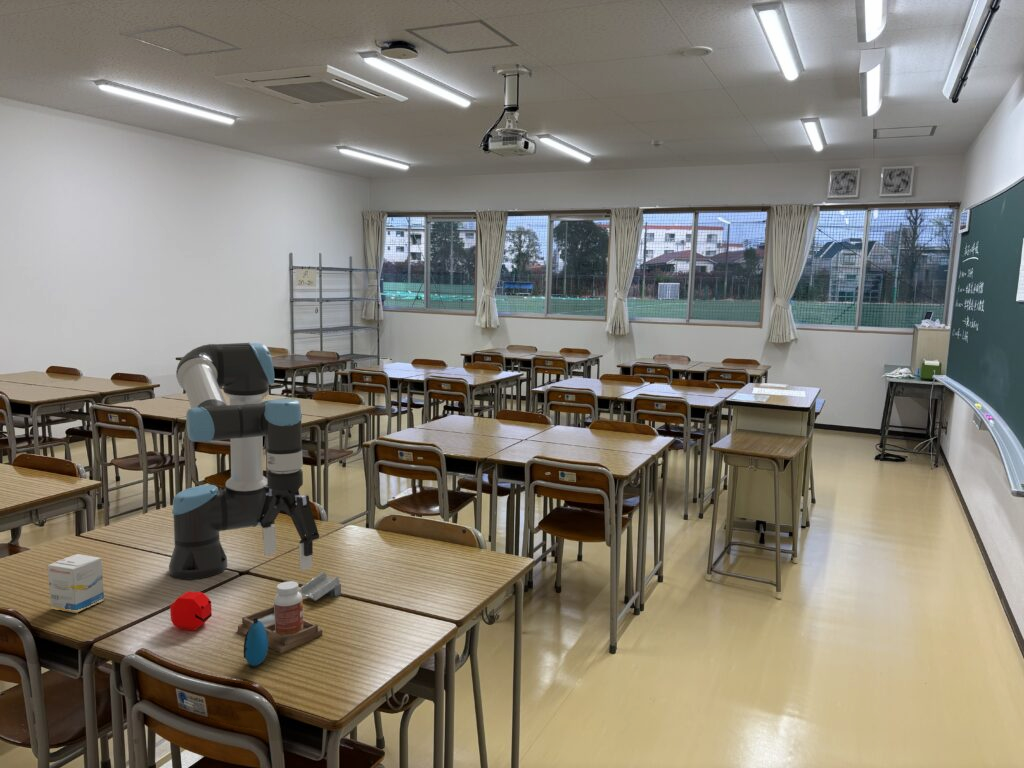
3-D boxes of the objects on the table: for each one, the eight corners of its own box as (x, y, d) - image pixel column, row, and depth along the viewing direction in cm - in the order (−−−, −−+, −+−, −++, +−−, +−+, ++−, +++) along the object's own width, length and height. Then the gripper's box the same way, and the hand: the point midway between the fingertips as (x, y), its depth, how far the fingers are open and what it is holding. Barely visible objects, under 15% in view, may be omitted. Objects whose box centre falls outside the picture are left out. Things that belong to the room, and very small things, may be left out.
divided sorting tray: (237, 630, 166) (237, 619, 166) (279, 614, 175) (278, 603, 175) (280, 653, 156) (280, 641, 156) (322, 634, 165) (322, 623, 164)
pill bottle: (306, 633, 162) (305, 587, 161) (279, 640, 159) (277, 593, 157) (299, 623, 167) (297, 577, 166) (272, 629, 164) (270, 583, 163)
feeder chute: (299, 599, 184) (298, 580, 183) (326, 588, 190) (326, 570, 190) (313, 605, 180) (313, 586, 179) (341, 594, 187) (340, 576, 186)
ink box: (105, 601, 182) (102, 556, 180) (75, 615, 174) (72, 568, 172) (80, 596, 185) (77, 552, 183) (49, 609, 177) (46, 564, 175)
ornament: (250, 653, 156) (248, 610, 155) (272, 652, 156) (270, 609, 155) (239, 673, 148) (237, 627, 146) (262, 672, 148) (261, 626, 147)
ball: (197, 635, 164) (195, 603, 163) (165, 632, 165) (163, 601, 164) (217, 620, 172) (215, 589, 171) (186, 617, 173) (185, 587, 172)
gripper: (238, 463, 163) (241, 552, 166) (305, 483, 148) (307, 581, 151) (267, 457, 169) (270, 543, 172) (334, 475, 153) (336, 570, 156)
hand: (287, 561), depth 161 cm, fingers open, 13 cm apart
